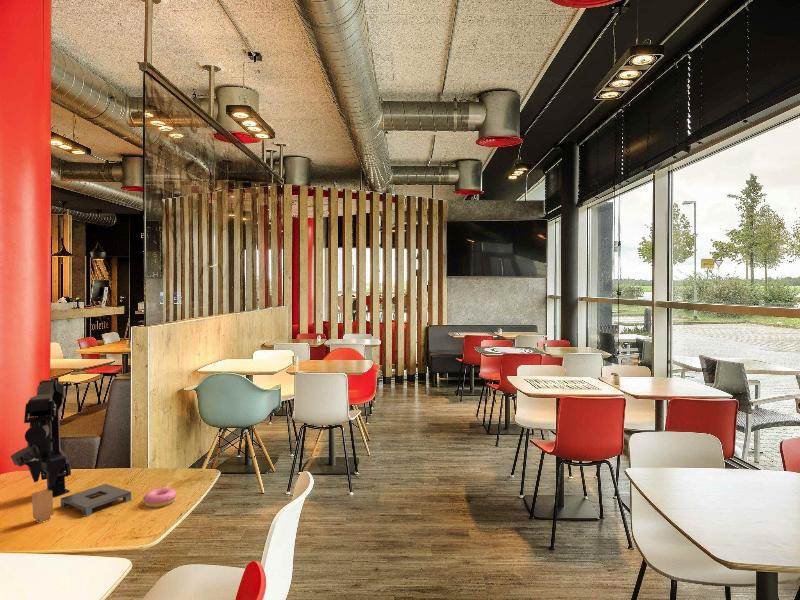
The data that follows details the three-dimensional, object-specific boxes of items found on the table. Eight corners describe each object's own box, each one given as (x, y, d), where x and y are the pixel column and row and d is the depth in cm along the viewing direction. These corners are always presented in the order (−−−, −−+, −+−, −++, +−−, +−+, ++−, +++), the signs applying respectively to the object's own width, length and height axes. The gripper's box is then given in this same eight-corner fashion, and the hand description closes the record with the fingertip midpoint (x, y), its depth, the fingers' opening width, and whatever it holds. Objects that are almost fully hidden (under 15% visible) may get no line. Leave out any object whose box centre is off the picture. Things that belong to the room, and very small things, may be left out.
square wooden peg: (33, 522, 184) (32, 493, 184) (47, 517, 188) (46, 488, 187) (38, 524, 182) (37, 495, 182) (53, 519, 186) (52, 490, 185)
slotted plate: (60, 506, 196) (60, 498, 196) (105, 491, 210) (105, 483, 210) (86, 516, 188) (85, 507, 187) (131, 500, 201) (130, 491, 201)
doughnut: (181, 496, 204) (180, 484, 204) (170, 508, 193) (170, 496, 193) (150, 497, 204) (150, 486, 204) (138, 509, 193) (137, 497, 193)
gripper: (-1, 439, 182) (1, 487, 183) (29, 447, 172) (31, 497, 173) (36, 431, 192) (38, 476, 192) (66, 438, 182) (68, 486, 182)
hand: (43, 484), depth 185 cm, fingers open, 9 cm apart
